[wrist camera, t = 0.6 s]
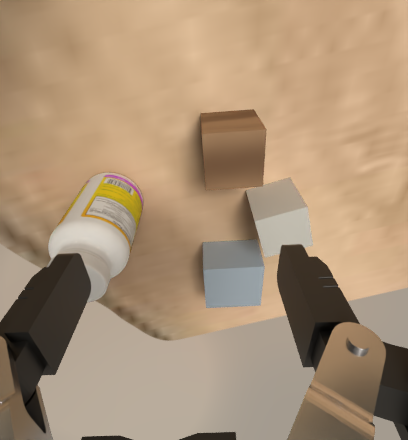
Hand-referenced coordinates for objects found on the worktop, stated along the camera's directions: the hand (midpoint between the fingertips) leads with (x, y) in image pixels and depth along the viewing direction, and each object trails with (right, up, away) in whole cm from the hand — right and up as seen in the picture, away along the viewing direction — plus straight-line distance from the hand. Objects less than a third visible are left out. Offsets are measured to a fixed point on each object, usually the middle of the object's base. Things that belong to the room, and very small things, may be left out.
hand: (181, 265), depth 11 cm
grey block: (+9, +4, +21) cm, 23 cm away
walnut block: (+3, +10, +17) cm, 20 cm away
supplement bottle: (-9, +5, +20) cm, 23 cm away
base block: (+4, -4, +27) cm, 27 cm away
